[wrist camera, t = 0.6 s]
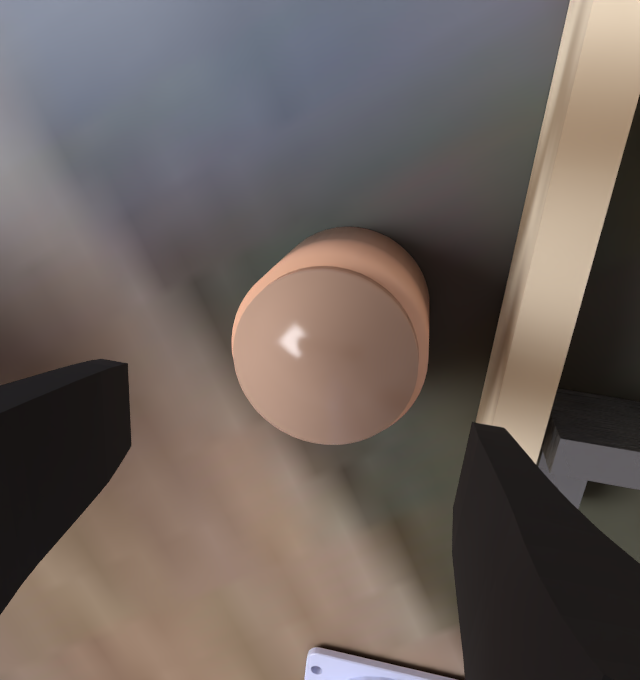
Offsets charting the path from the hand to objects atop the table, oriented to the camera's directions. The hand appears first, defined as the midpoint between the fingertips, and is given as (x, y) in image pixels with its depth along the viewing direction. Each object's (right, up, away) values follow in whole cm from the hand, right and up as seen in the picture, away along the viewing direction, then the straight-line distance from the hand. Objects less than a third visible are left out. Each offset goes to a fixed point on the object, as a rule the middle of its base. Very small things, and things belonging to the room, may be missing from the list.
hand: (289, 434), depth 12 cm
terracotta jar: (+2, +3, +8) cm, 9 cm away
